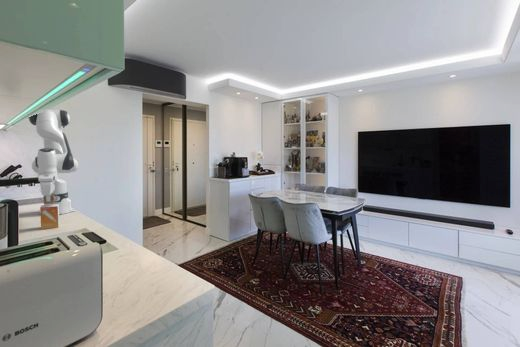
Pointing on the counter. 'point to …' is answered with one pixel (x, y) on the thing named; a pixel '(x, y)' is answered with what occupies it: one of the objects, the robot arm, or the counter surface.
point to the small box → (49, 216)
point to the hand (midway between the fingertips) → (49, 200)
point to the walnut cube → (49, 201)
